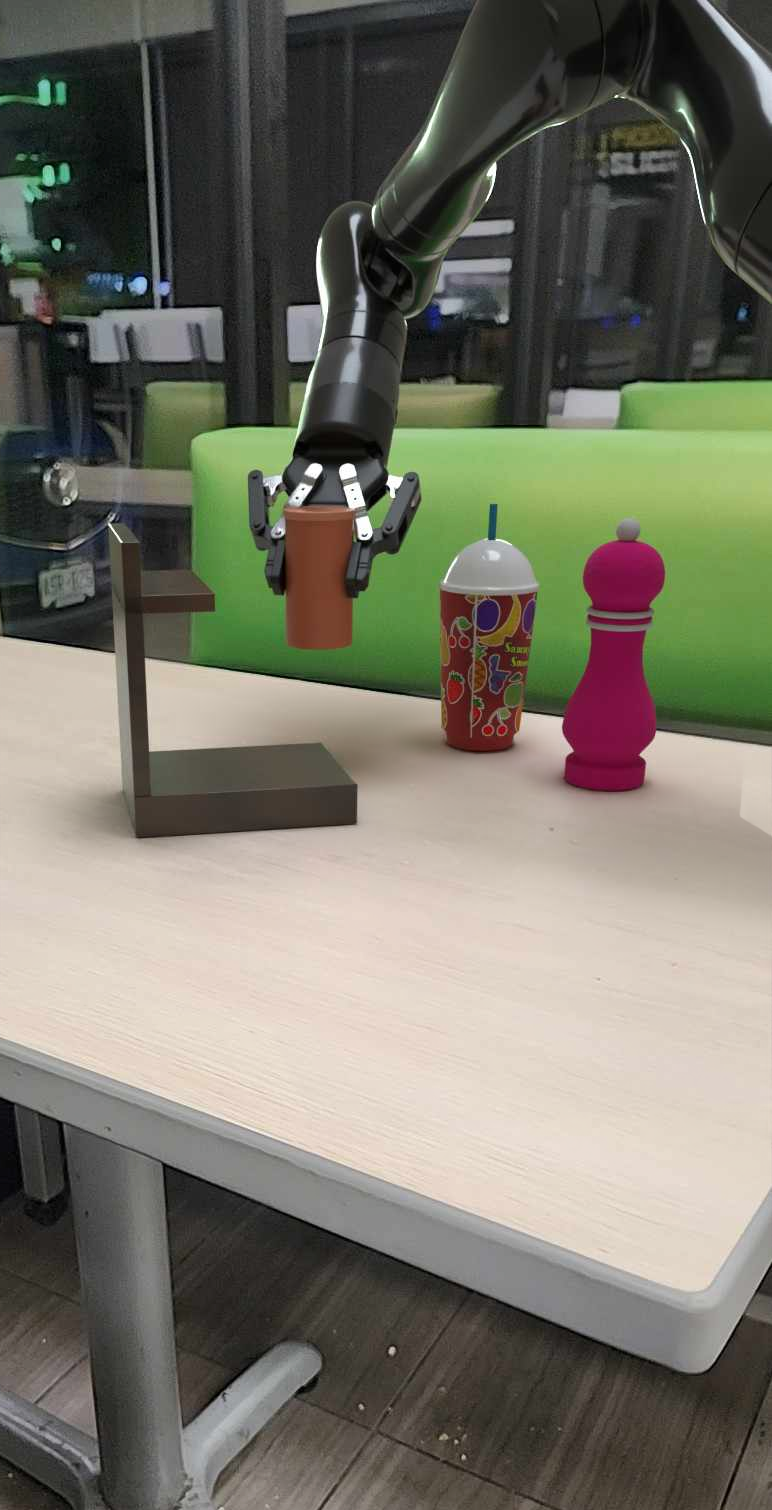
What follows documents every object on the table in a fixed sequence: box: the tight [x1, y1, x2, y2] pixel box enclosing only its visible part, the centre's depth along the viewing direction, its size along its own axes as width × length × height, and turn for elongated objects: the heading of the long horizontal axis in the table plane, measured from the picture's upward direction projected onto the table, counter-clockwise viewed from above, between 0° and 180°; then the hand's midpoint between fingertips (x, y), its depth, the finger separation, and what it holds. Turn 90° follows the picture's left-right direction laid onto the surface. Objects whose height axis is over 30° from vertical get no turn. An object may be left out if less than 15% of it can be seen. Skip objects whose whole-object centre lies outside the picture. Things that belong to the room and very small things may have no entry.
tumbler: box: [284, 506, 356, 651], centre depth 102 cm, size 5×5×10 cm
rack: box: [107, 522, 359, 839], centre depth 96 cm, size 16×12×20 cm
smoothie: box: [438, 503, 541, 752], centre depth 113 cm, size 8×8×20 cm
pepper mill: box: [561, 517, 666, 792], centre depth 102 cm, size 7×7×20 cm
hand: (314, 589), depth 100 cm, fingers closed on tumbler, 5 cm apart
